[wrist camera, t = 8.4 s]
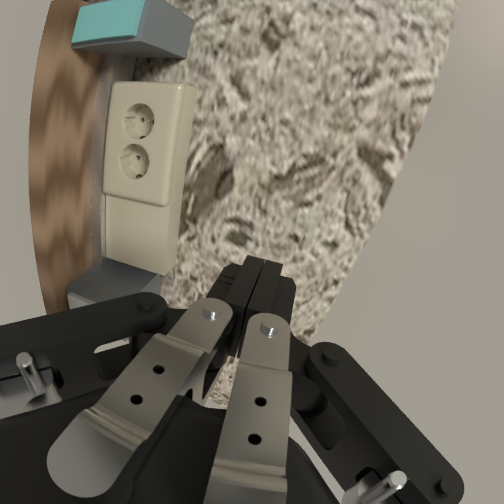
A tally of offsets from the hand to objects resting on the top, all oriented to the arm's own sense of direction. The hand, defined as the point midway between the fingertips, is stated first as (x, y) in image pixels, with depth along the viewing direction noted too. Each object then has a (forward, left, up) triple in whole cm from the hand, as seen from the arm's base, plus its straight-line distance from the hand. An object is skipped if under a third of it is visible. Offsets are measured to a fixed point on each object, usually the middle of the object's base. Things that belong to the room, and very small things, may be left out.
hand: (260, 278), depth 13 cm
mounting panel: (0, -20, -16) cm, 25 cm away
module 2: (+13, -15, -16) cm, 25 cm away
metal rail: (0, -18, -16) cm, 24 cm away
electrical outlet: (+1, -14, -16) cm, 21 cm away
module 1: (-13, -15, -16) cm, 25 cm away
